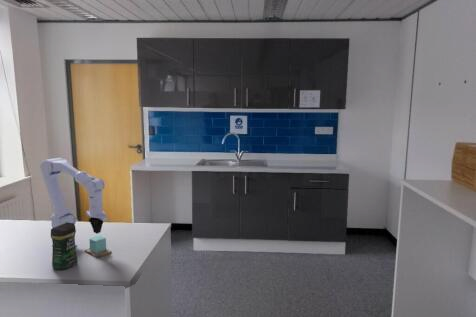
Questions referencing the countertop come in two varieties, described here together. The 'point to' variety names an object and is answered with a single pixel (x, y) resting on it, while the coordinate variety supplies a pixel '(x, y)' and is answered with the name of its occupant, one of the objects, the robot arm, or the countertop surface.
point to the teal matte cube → (97, 244)
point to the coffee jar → (63, 246)
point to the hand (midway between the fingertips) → (97, 232)
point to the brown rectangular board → (98, 253)
